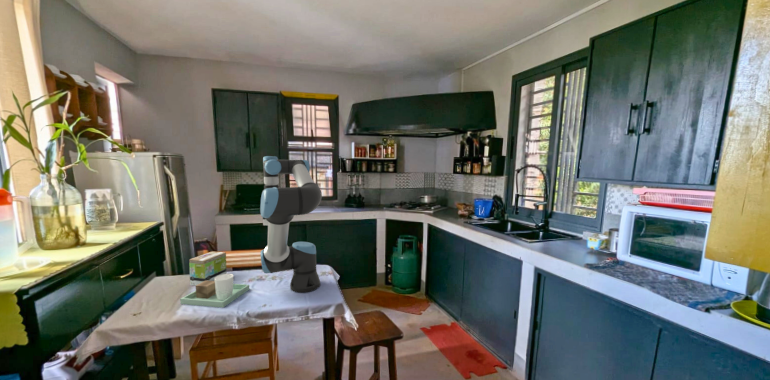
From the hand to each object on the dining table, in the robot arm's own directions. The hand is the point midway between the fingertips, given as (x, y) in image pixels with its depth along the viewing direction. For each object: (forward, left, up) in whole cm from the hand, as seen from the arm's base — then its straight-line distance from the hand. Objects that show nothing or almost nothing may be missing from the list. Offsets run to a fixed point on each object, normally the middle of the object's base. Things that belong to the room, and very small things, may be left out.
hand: (272, 222), depth 156 cm
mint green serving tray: (+15, +26, -32) cm, 44 cm away
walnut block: (+21, +26, -31) cm, 45 cm away
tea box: (+33, +10, -32) cm, 47 cm away
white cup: (+10, +26, -31) cm, 42 cm away
